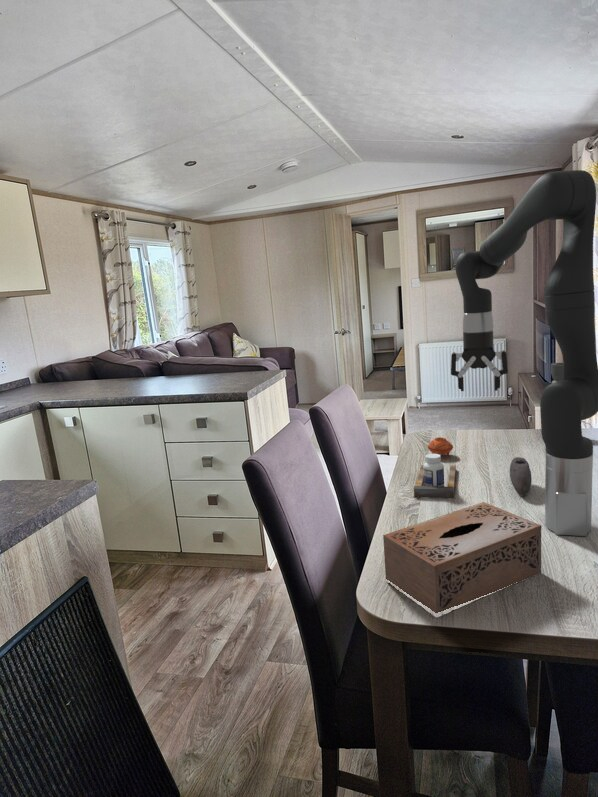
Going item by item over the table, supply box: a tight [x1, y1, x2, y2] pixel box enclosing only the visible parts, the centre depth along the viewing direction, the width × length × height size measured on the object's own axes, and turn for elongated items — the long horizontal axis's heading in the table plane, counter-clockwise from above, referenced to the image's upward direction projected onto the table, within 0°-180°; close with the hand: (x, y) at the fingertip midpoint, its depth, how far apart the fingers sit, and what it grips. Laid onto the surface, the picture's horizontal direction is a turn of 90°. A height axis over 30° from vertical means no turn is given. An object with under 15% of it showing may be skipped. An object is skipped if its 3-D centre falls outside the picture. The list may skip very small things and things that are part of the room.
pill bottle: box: [422, 453, 445, 487], centre depth 149 cm, size 5×5×10 cm
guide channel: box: [413, 464, 457, 499], centre depth 154 cm, size 22×10×2 cm, turn 163°
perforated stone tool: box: [509, 456, 533, 497], centre depth 144 cm, size 15×5×7 cm, turn 161°
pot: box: [427, 437, 454, 456], centre depth 176 cm, size 8×8×7 cm
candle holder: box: [550, 362, 564, 384], centre depth 184 cm, size 6×6×25 cm
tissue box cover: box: [382, 501, 542, 613], centre depth 105 cm, size 26×14×10 cm, turn 117°
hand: (479, 390), depth 147 cm, fingers open, 8 cm apart
